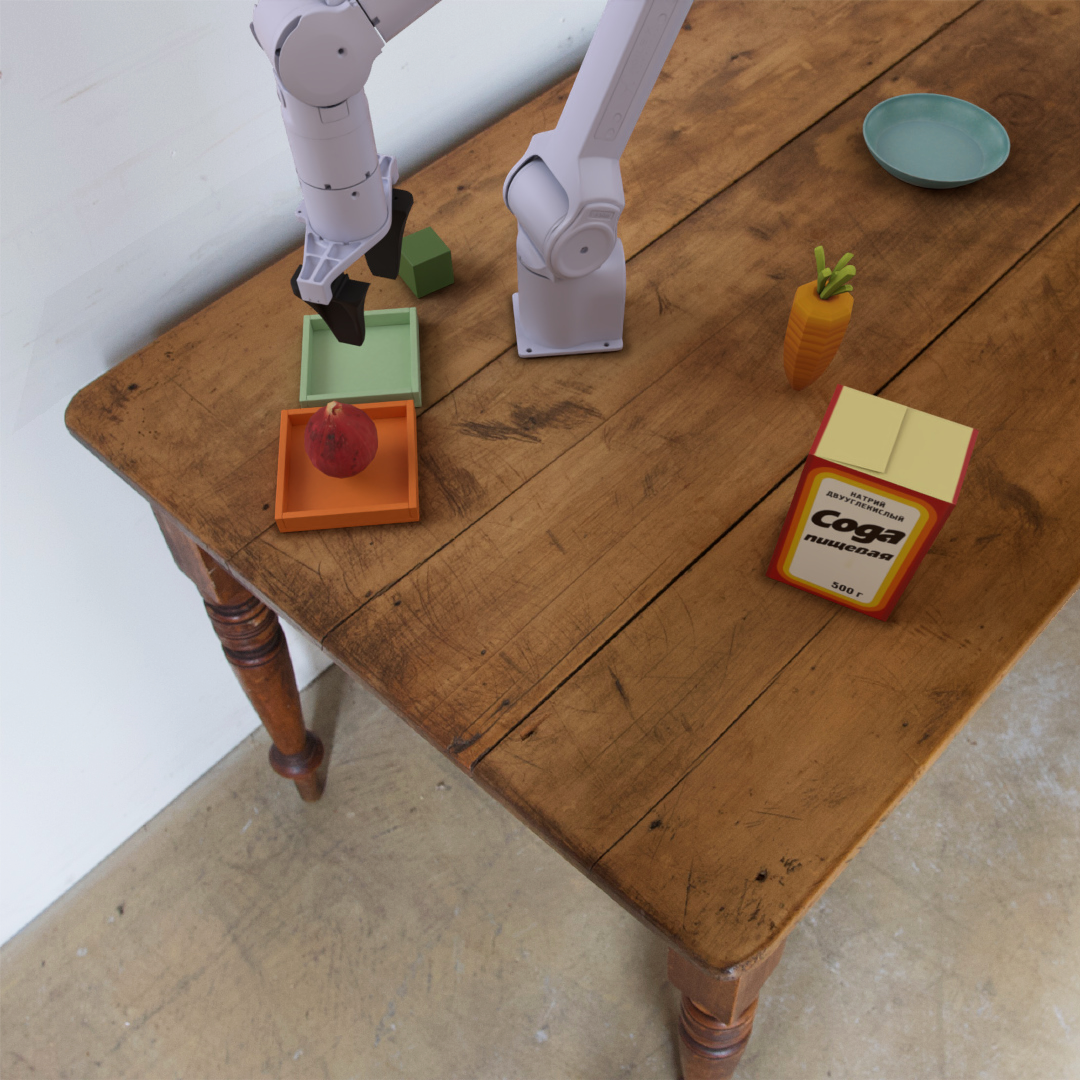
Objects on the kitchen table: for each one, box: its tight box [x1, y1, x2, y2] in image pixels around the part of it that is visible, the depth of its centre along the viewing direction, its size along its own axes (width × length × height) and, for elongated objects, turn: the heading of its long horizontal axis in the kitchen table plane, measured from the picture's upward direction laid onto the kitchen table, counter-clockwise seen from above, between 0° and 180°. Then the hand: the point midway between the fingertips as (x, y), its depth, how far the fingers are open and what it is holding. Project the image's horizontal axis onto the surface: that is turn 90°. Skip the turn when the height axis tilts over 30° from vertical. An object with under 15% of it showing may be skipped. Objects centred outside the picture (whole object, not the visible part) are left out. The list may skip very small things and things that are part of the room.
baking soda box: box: [764, 383, 980, 623], centre depth 71 cm, size 10×6×16 cm
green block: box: [398, 226, 455, 299], centre depth 94 cm, size 4×4×4 cm
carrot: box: [782, 245, 857, 392], centre depth 81 cm, size 5×5×15 cm
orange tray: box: [274, 400, 420, 534], centre depth 82 cm, size 11×11×2 cm
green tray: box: [299, 306, 422, 408], centre depth 88 cm, size 10×10×2 cm
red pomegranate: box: [304, 401, 378, 479], centre depth 79 cm, size 6×6×8 cm
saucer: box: [862, 92, 1011, 190], centre depth 103 cm, size 15×15×3 cm
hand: (368, 307), depth 80 cm, fingers open, 7 cm apart
